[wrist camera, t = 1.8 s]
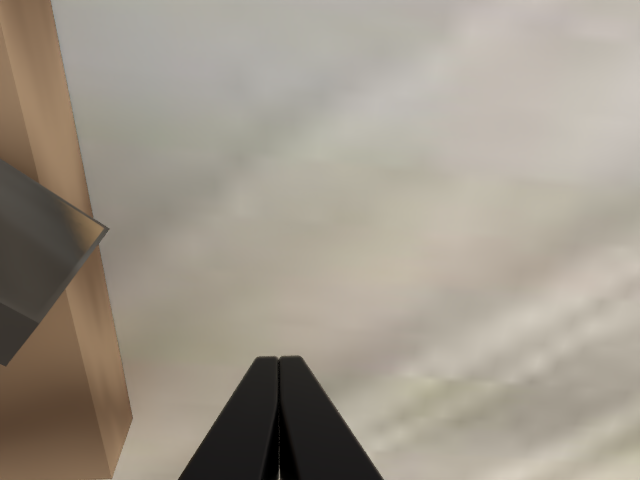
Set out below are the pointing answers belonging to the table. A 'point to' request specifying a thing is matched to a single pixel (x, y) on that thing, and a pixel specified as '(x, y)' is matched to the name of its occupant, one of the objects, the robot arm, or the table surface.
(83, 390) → the brown wooden block
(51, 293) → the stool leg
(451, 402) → the table surface
